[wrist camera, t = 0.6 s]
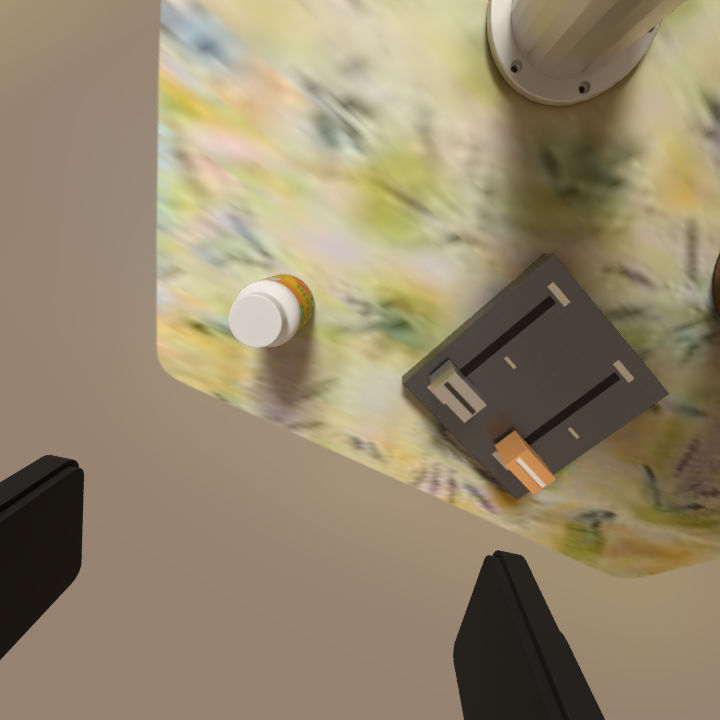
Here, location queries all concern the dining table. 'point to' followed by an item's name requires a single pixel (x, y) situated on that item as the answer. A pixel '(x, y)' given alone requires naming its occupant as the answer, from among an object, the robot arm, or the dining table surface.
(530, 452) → the orange fader
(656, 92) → the dining table surface
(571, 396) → the console
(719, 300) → the wooden container
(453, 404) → the block
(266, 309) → the supplement bottle
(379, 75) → the dining table surface
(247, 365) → the dining table surface
